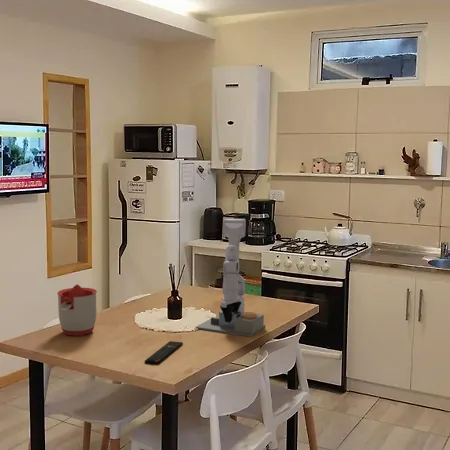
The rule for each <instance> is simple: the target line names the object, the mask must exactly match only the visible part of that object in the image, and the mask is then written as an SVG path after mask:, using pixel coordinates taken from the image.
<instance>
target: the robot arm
mask: <svg viewBox="0 0 450 450" xmlns="http://www.w3.org/2000/svg"><path fill="white" fill-rule="evenodd" d="M246 223H247V222H246V218H227V217H225V218H224V219H223V223H222V224H223V225H222V228H223V229H222V230H223V235H224V237H226V238H228V246H227V247H226V248H225V254H224V255H225V256H224V257H225V258H224V262H223V265H222V272H223V279H222V280H223V281H222V295H223V296H224V297H222V298H221V301H222V302H221V305H220V306H219V307H220V311H222V312H223V315H224V319H225V322H229V323H230V322H231V315H232V311H239V312H241V315H242V313H245V312H246V311H245V298H244V296H245V293H246V291H245V287H246V285H245V284H246V283H245V278H244V277H243V276H242V275H240V242H241V239H242V238H245V237H246V225H247V224H246Z"/></svg>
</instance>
